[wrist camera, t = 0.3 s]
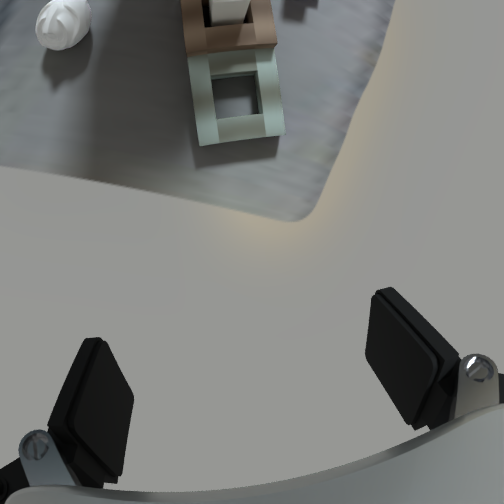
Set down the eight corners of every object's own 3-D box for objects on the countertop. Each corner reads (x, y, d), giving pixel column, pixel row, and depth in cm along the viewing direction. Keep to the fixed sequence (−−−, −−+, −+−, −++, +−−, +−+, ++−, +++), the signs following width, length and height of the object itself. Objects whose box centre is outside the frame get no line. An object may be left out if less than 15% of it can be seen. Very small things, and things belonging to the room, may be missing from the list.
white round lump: (43, 50, 26) (14, 39, 19) (66, 5, 24) (43, -14, 17) (85, 58, 28) (60, 44, 21) (110, 10, 26) (92, -12, 19)
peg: (208, 11, 28) (209, -24, 19) (236, 8, 29) (245, -27, 19) (211, 34, 30) (212, 2, 21) (240, 31, 30) (250, -1, 21)
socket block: (181, -6, 27) (178, -23, 22) (257, -14, 27) (264, -31, 23) (200, 145, 35) (198, 146, 30) (279, 134, 36) (290, 134, 31)
